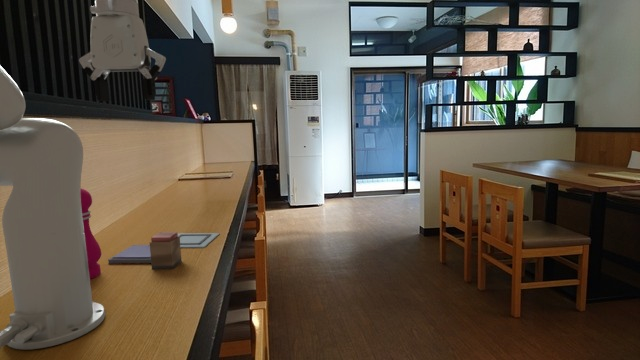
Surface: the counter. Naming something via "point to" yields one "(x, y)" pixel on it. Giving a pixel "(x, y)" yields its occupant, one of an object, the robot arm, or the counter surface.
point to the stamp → (165, 250)
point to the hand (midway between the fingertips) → (126, 100)
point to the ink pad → (133, 255)
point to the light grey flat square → (196, 239)
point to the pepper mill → (90, 236)
